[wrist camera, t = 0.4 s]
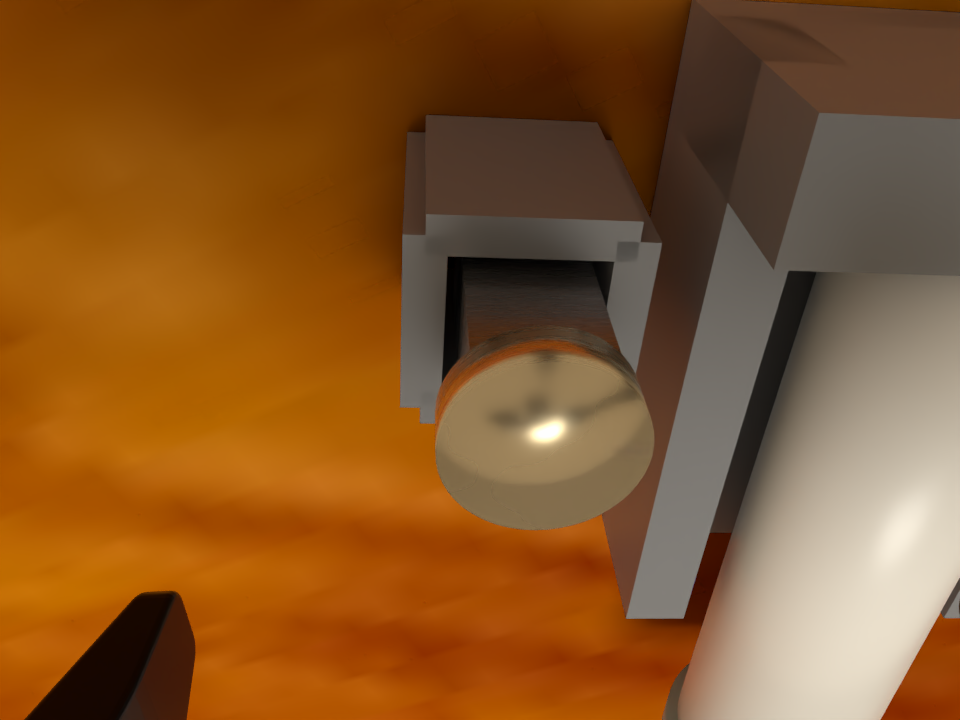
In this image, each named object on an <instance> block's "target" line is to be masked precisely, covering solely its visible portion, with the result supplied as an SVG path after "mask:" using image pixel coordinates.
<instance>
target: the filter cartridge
mask: <svg viewBox="0 0 960 720" xmlns="http://www.w3.org/2000/svg"><path fill="white" fill-rule="evenodd" d="M959 578H960V276H945V275H912V274H880V273H847V272H816V275H815V278H814V281H813V284H812V288H811V291H810V294H809V297H808V300H807V303H806V306H805V309H804V312H803V315H802V318H801V322H800V325H799V328H798V331H797V334H796V337H795V340H794V343H793V346H792V349H791V352H790V356H789V359H788V362H787V365H786V368H785V371H784V374H783V377H782V380H781V383H780V386H779V390H778V393H777V396H776V399H775V402H774V405H773V408H772V411H771V414H770V417H769V420H768V424H767V427H766V430H765V433H764V436H763V439H762V442H761V445H760V448H759V451H758V454H757V457H756V461H755V464H754V467H753V470H752V473H751V476H750V479H749V482H748V485H747V488H746V491H745V495H744V498H743V501H742V504H741V507H740V510H739V513H738V516H737V519H736V522H735V525H734V529H733V532H732V535H731V538H730V541H729V544H728V547H727V550H726V553H725V556H724V559H723V563H722V566H721V569H720V572H719V575H718V578H717V581H716V584H715V587H714V590H713V593H712V597H711V600H710V603H709V606H708V609H707V612H706V615H705V618H704V621H703V624H702V627H701V631H700V634H699V637H698V640H697V643H696V646H695V649H694V652H693V655H692V658H691V661H690V663H689V664H688V665H687V666H686V667H685V668H684V669H683V670H682V671H681V672H680V673H679V675H678V676H677V677H676V679H675V681H674V683H673V685H672V687H671V690H670V693H669V696H668V699H667V703H666V706H665V709H664V713H663V716H662V720H880V719H881V718H882V716H883V714H884V712H885V711H886V709H887V707H888V705H889V703H890V702H891V700H892V698H893V696H894V694H895V693H896V691H897V689H898V687H899V685H900V684H901V682H902V680H903V678H904V677H905V675H906V673H907V671H908V669H909V668H910V666H911V664H912V662H913V660H914V659H915V657H916V655H917V653H918V651H919V650H920V648H921V646H922V644H923V642H924V641H925V639H926V637H927V635H928V634H929V632H930V630H931V628H932V626H933V625H934V623H935V621H936V619H937V617H938V616H939V614H940V612H941V610H942V608H943V607H944V605H945V603H946V601H947V600H948V598H949V596H950V594H951V592H952V591H953V589H954V587H955V585H956V583H957V582H958V580H959Z"/></svg>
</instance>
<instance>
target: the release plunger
mask: <svg viewBox="0 0 960 720" xmlns="http://www.w3.org/2000/svg"><path fill="white" fill-rule="evenodd" d="M453 308H454V327H455V346H456V363H455V365H454V366H453V367H452V368H451V369H450V371H449V372H448V374H447V375H446V377H445V378H444V380H443V382H442V385H441V387H440V389H439V392H438V395H437V399H436V406H435V450H436V464H437V469H438V473H439V475H440V478H441V480H442V483H443V484H444V486H445V488H446V489H447V491H448V492H449V493H450V495H451V496H452V497H453V498H454V499H455V500H456V501H457V502H458V503H459V504H460V505H461V506H462V507H463V508H465V509H466V510H468V511H469V512H471V513H472V514H474V515H476V516H478V517H480V518H482V519H484V520H486V521H489V522H491V523H494V524H497V525H501V526H505V527H509V528H516V529H524V530H548V529H555V528H562V527H566V526H571V525H575V524H578V523H581V522H584V521H587V520H589V519H592V518H594V517H596V516H598V515H600V514H602V513H604V512H606V511H607V510H609V509H611V508H612V507H614V506H615V505H616V504H618V503H619V502H621V501H622V500H623V499H624V498H625V497H626V496H627V495H629V494H630V493H631V491H632V490H633V489H634V488H635V487H636V486H637V485H638V483H639V482H640V480H641V479H642V477H643V476H644V474H645V472H646V470H647V468H648V466H649V464H650V461H651V458H652V455H653V449H654V429H653V424H652V420H651V417H650V414H649V411H648V408H647V405H646V402H645V399H644V396H643V393H642V390H641V387H640V385H639V382H638V379H637V377H636V374H635V372H634V370H633V368H632V367H631V365H630V363H629V362H628V361H627V359H626V358H625V357H624V356H623V355H622V354H621V351H620V348H619V345H618V342H617V339H616V336H615V333H614V329H613V326H612V323H611V320H610V317H609V314H608V311H607V308H606V305H605V302H604V299H603V296H602V293H601V290H600V287H599V284H598V281H597V278H596V275H595V272H594V269H593V266H592V262H591V261H581V260H549V259H517V258H485V257H455V274H454V293H453Z"/></svg>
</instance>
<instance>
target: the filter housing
mask: <svg viewBox="0 0 960 720" xmlns="http://www.w3.org/2000/svg"><path fill="white" fill-rule="evenodd" d="M448 256H452V257H485V258H517V259H549V260H581V261H591V262H592V266H593V269H594V272H595V275H596V278H597V281H598V284H599V287H600V290H601V293H602V296H603V299H604V302H605V305H606V308H607V311H608V314H609V317H610V320H611V323H612V326H613V329H614V333H615V336H616V339H617V342H618V345H619V348H620V351H621V354H622V355H623V356H624V357H625V358H626V359H627V361H628V362H629V363H630V365H631V367H632V368H633V370H634V372H635V374H636V377H637V379H638V382H639V385H640V387H641V390H642V393H643V396H644V399H645V402H646V405H647V408H648V411H649V414H650V417H651V420H652V424H653V429H654V449H653V455H652V458H651V461H650V464H649V466H648V468H647V470H646V472H645V474H644V476H643V477H642V479H641V480H640V482H639V483H638V485H637V486H636V487H635V488H634V489H633V490H632V491H631V493H630V494H629V495H627V496H626V497H625V498H624V499H623V500H622V501H621V502H619V503H618V504H616V505H615V506H614V507H612V508H611V509H609V510H607V511H606V512H604V513H602V518H603V522H604V526H605V531H606V535H607V539H608V544H609V548H610V552H611V556H612V561H613V565H614V569H615V574H616V578H617V582H618V586H619V591H620V595H621V599H622V604H623V608H624V612H625V617H626V619H683V618H684V615H685V612H686V609H687V605H688V602H689V599H690V595H691V592H692V589H693V585H694V582H695V579H696V576H697V572H698V569H699V566H700V562H701V559H702V556H703V552H704V549H705V546H706V542H707V539H708V536H709V533H732V532H733V529H734V525H735V522H736V519H737V516H738V513H739V510H740V507H741V504H742V501H743V498H744V495H745V491H746V488H747V485H748V482H749V479H750V476H751V473H752V470H753V467H754V464H755V461H756V457H757V454H758V451H759V448H760V445H761V442H762V439H763V436H764V433H765V430H766V427H767V424H768V420H769V417H770V414H771V411H772V408H773V405H774V402H775V399H776V396H777V393H778V390H779V386H780V383H781V380H782V377H783V374H784V371H785V368H786V365H787V362H788V359H789V356H790V352H791V349H792V346H793V343H794V340H795V337H796V334H797V331H798V328H799V325H800V322H801V318H802V315H803V312H804V309H805V306H806V303H807V300H808V297H809V294H810V291H811V288H812V284H813V281H814V278H815V275H816V272H847V273H880V274H912V275H945V276H960V12H943V11H925V10H907V9H890V8H872V7H854V6H836V5H818V4H800V3H782V2H765V1H747V0H692V3H691V8H690V13H689V18H688V23H687V29H686V34H685V39H684V44H683V50H682V55H681V60H680V65H679V70H678V76H677V81H676V86H675V91H674V97H673V102H672V107H671V112H670V118H669V123H668V128H667V133H666V138H665V144H664V149H663V154H662V159H661V165H660V170H659V175H658V180H657V185H656V191H655V196H654V201H653V206H652V212H651V217H649V215H648V212H647V210H646V208H645V206H644V204H643V202H642V200H641V198H640V196H639V194H638V192H637V190H636V188H635V186H634V184H633V182H632V180H631V178H630V175H629V173H628V171H627V169H626V167H625V165H624V163H623V161H622V159H621V157H620V155H619V153H618V151H617V149H616V147H615V145H614V143H613V141H612V140H605V137H604V135H603V133H602V131H601V129H600V127H599V125H598V122H581V121H558V120H535V119H512V118H490V117H467V116H444V115H426V128H425V132H407V148H406V169H405V191H404V213H403V235H402V310H401V385H400V407H417V408H420V423H435V406H436V399H437V395H438V392H439V389H440V387H441V385H442V382H443V380H444V378H445V377H446V375H447V374H448V372H449V371H450V369H451V368H452V367H453V366H454V365H455V363H456V346H455V327H454V308H453V293H454V274H455V269H447V259H448ZM959 600H960V578H959V580H958V582H957V583H956V585H955V587H954V589H953V591H952V592H951V594H950V596H949V598H948V600H947V601H946V603H945V605H944V607H943V608H942V610H941V614H942V616H943V617H944V618H960V614H959Z"/></svg>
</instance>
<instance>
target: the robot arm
mask: <svg viewBox="0 0 960 720" xmlns="http://www.w3.org/2000/svg"><path fill="white" fill-rule="evenodd" d="M959 614H960V600H959ZM194 661H195V639H194V635H193V632H192V629H191V626H190V623H189V620H188V616H187V613H186V610H185V607H184V604H183V601H182V598H181V596H180V595H179V594H178V593H177V592H175V591H157V592H144V593H141V594H139V595H138V596H136V597H135V598H134V599H133V600H132V601H131V602H130V603H129V604H128V605H127V607H126V608H125V609H124V610H123V611H122V612H121V613H120V614H119V615H118V617H117V618H116V619H115V620H114V621H113V622H112V623H111V624H110V625H109V627H108V628H107V629H106V630H105V631H104V632H103V633H102V634H101V635H100V636H99V638H98V639H97V640H96V641H95V642H94V643H93V644H92V645H91V646H90V648H89V649H88V650H87V651H86V652H85V653H84V654H83V655H82V656H81V657H80V659H79V660H78V661H77V662H76V663H75V664H74V665H73V666H72V667H71V669H70V670H69V671H68V672H67V673H66V674H65V675H64V676H63V677H62V679H61V680H60V681H59V682H58V683H57V684H56V685H55V686H54V687H53V688H52V690H51V691H50V692H49V693H48V694H47V695H46V696H45V697H44V698H43V700H42V701H41V702H40V703H39V704H38V705H37V706H36V707H35V708H34V710H33V711H32V712H31V713H30V714H29V715H28V716H27V717H26V718H25V719H24V720H186V719H187V712H188V705H189V697H190V690H191V683H192V676H193V668H194Z"/></svg>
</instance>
